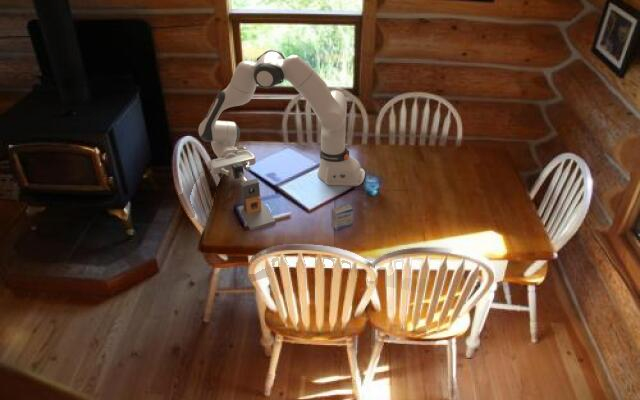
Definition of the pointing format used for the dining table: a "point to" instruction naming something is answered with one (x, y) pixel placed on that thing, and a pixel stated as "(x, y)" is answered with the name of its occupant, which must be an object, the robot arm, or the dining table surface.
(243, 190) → the bearing stand
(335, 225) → the medicine box
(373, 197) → the dining table surface
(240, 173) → the shaft
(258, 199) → the spacer
